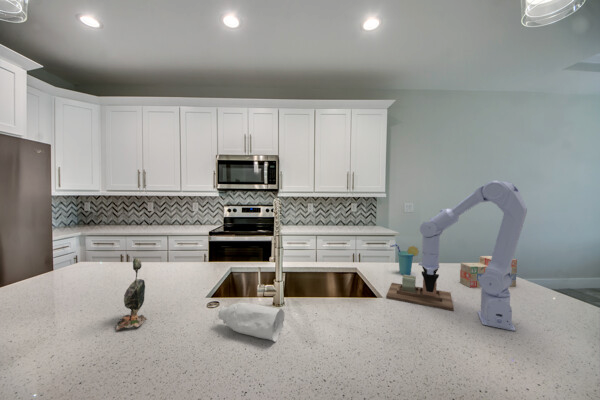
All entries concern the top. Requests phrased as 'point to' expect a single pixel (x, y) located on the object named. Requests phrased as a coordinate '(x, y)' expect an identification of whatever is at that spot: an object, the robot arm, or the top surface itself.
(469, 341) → the top surface
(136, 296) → the plant with pod
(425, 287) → the terracotta block
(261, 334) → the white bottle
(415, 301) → the walnut base
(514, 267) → the stack of blocks
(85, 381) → the top surface
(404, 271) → the cup
